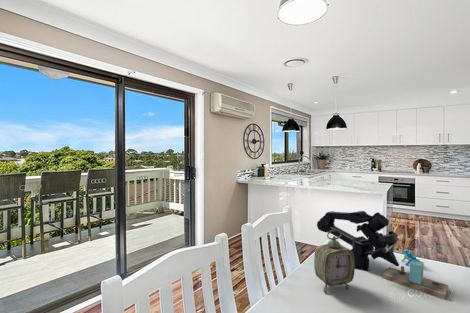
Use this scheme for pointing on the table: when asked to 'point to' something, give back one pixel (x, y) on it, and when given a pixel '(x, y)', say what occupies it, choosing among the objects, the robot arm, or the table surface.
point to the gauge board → (426, 285)
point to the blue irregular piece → (410, 257)
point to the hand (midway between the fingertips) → (398, 265)
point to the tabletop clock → (334, 263)
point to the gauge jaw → (416, 271)
